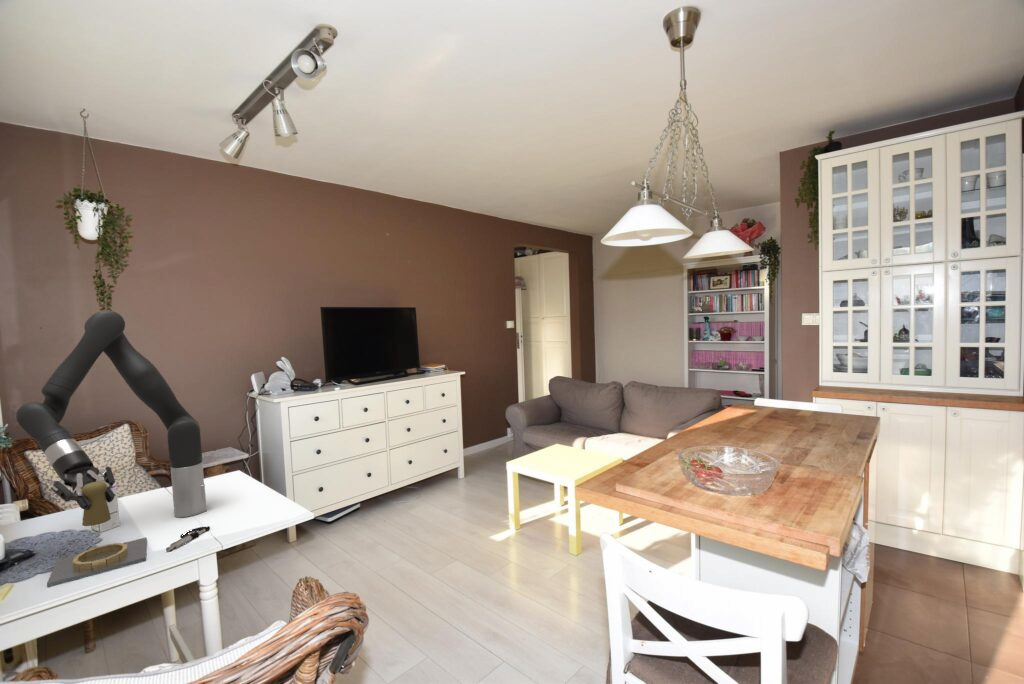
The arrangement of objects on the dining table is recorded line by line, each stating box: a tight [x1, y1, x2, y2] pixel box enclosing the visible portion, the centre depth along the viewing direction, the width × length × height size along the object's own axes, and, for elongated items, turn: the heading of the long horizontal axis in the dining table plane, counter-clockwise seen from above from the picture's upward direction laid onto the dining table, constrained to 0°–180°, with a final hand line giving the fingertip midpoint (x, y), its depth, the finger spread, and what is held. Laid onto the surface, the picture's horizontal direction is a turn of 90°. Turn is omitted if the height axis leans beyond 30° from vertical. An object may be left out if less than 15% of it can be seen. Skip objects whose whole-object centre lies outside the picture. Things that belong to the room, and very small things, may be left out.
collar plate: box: [46, 537, 148, 588], centre depth 133 cm, size 20×16×2 cm
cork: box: [81, 481, 111, 527], centre depth 132 cm, size 6×6×11 cm
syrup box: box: [90, 483, 121, 533], centre depth 156 cm, size 6×6×14 cm
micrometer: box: [165, 525, 211, 553], centre depth 146 cm, size 15×7×2 cm, turn 168°
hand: (100, 503), depth 132 cm, fingers closed on cork, 5 cm apart
